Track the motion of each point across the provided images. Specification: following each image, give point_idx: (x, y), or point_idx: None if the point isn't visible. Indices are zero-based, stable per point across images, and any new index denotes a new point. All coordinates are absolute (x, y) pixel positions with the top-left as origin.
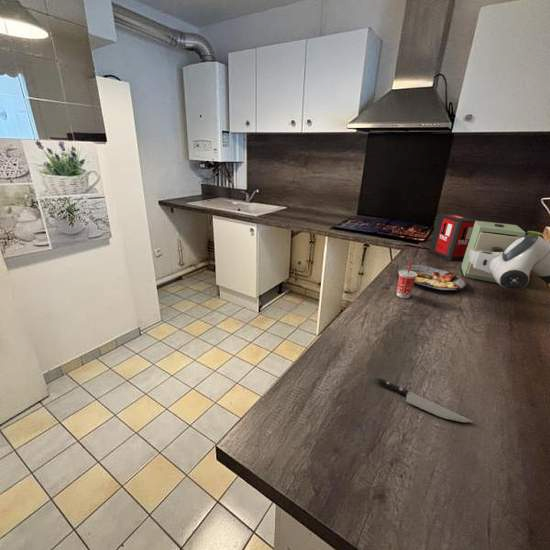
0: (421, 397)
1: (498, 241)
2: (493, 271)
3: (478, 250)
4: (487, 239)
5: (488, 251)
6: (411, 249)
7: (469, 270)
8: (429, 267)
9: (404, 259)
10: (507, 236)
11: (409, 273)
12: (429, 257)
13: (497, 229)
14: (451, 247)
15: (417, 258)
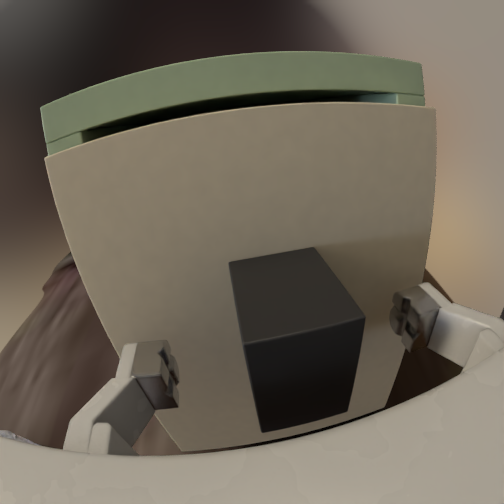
0: None
1: (257, 187)
2: None
3: (12, 482)
4: (136, 202)
5: (139, 487)
6: (65, 282)
7: (178, 441)
8: (23, 439)
9: (5, 364)
10: (320, 105)
11: None
12: (91, 309)
13: (194, 62)
14: None
15: (48, 336)
